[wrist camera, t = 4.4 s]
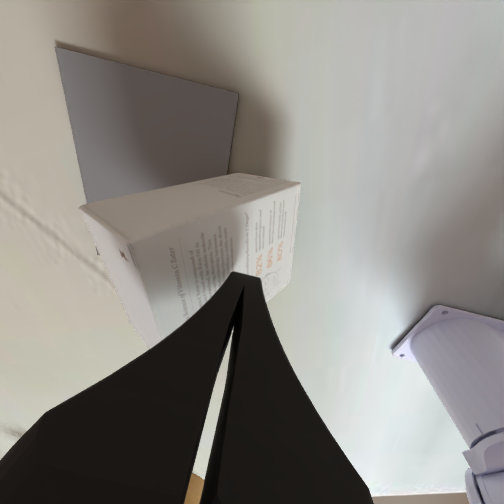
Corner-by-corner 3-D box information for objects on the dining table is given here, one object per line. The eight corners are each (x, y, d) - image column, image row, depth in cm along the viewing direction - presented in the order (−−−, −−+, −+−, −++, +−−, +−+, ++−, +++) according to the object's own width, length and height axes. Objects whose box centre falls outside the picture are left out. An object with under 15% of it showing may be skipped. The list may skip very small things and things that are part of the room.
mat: (238, 93, 14) (238, 92, 13) (211, 280, 22) (210, 282, 21) (58, 48, 13) (54, 46, 13) (99, 253, 22) (97, 254, 21)
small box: (240, 170, 16) (73, 200, 9) (305, 181, 13) (121, 238, 6) (242, 258, 20) (127, 324, 13) (291, 283, 17) (174, 386, 10)
